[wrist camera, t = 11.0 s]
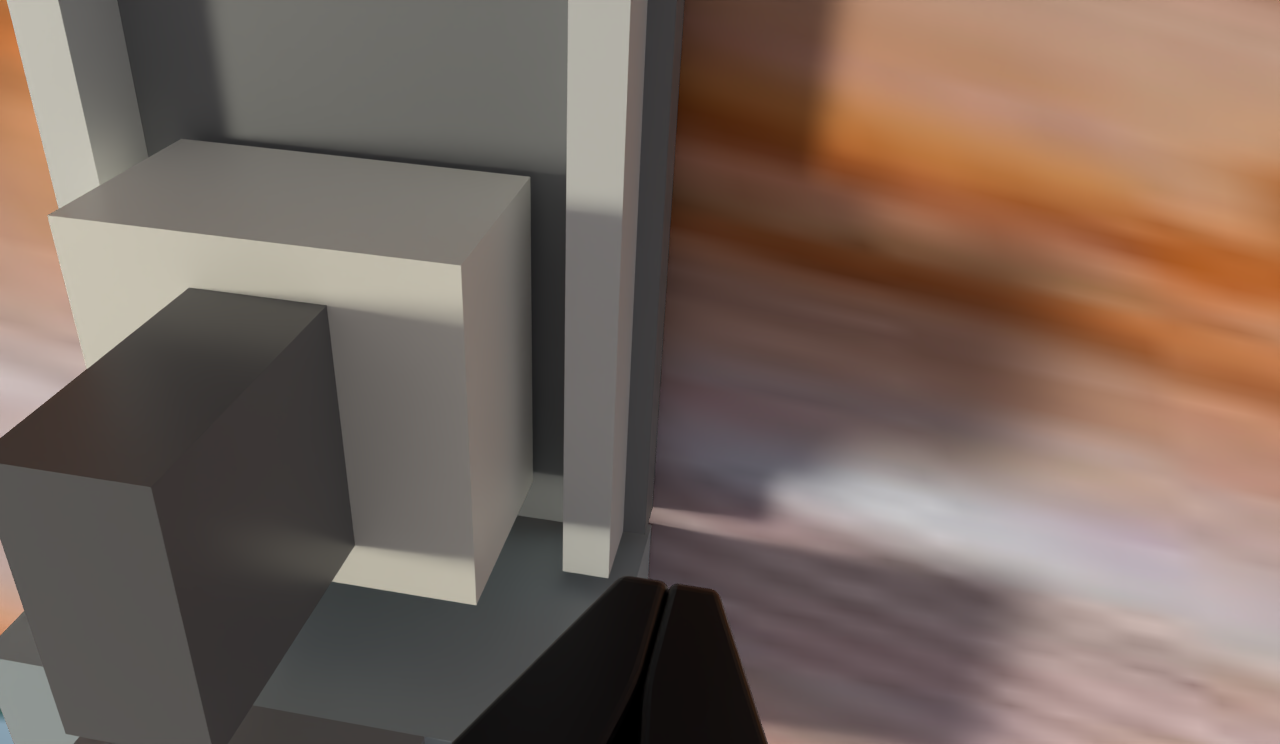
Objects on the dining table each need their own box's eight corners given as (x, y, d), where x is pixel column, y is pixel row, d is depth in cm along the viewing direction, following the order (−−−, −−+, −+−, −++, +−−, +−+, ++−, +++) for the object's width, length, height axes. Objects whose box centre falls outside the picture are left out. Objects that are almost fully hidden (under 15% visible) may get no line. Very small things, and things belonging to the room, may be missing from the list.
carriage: (530, 176, 20) (320, 445, 12) (532, 480, 23) (371, 835, 16) (181, 138, 21) (-218, 367, 13) (234, 436, 24) (-54, 752, 17)
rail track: (726, -653, 15) (691, -750, 12) (652, 507, 25) (624, 607, 22) (-61, -655, 16) (-261, -741, 13) (174, 436, 26) (89, 521, 24)
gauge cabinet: (664, 526, 25) (580, 847, 18) (651, 705, 28) (575, 1041, 21) (178, 452, 27) (-81, 718, 19) (216, 629, 30) (4, 916, 23)
